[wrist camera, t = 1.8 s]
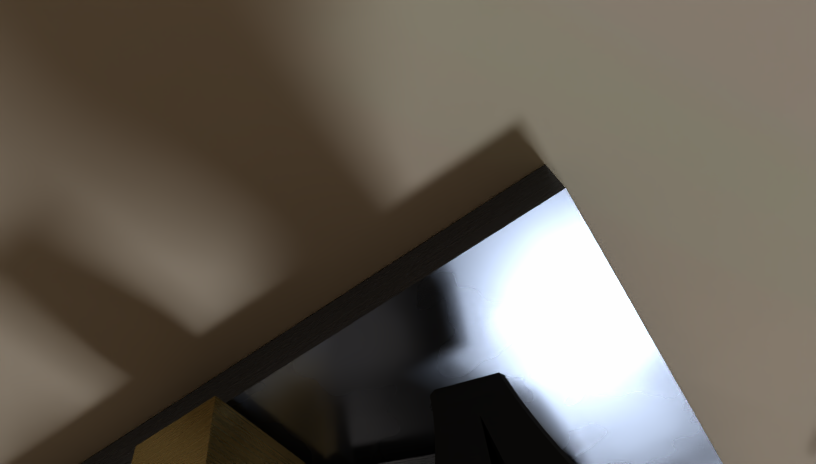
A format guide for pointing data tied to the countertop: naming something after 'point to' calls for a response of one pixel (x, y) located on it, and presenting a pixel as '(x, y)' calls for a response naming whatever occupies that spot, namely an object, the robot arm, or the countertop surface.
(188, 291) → the countertop surface
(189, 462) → the grey block ring
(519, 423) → the robot arm
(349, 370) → the flange plate
